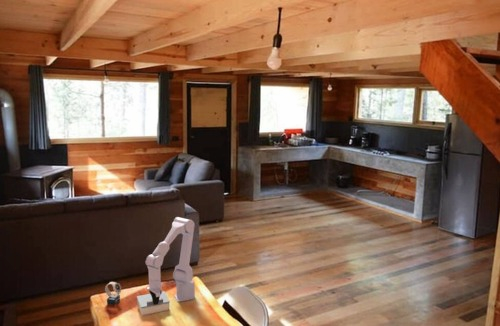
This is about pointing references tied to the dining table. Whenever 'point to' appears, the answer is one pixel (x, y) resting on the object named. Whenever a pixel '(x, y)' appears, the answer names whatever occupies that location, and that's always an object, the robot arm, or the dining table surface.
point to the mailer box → (153, 309)
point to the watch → (113, 298)
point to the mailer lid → (147, 300)
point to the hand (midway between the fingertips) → (155, 304)
